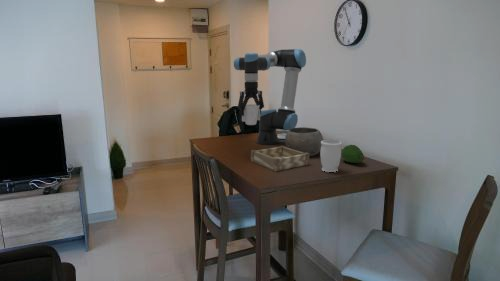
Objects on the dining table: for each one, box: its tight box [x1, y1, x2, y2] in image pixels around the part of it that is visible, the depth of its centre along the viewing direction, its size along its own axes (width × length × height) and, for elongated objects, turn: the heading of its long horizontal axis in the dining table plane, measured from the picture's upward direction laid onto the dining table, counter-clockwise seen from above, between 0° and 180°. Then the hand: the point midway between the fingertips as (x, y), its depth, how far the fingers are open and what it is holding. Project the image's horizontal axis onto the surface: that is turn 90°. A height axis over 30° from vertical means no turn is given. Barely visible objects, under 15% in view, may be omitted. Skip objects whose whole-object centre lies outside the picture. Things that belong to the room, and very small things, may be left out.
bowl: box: [284, 127, 324, 158], centre depth 210 cm, size 23×23×15 cm
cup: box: [244, 103, 260, 126], centre depth 198 cm, size 10×10×11 cm
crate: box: [250, 145, 310, 172], centre depth 189 cm, size 23×23×6 cm
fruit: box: [341, 144, 365, 164], centre depth 190 cm, size 15×10×10 cm, turn 15°
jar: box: [319, 139, 343, 173], centre depth 175 cm, size 11×10×15 cm
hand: (251, 120), depth 198 cm, fingers closed on cup, 9 cm apart
